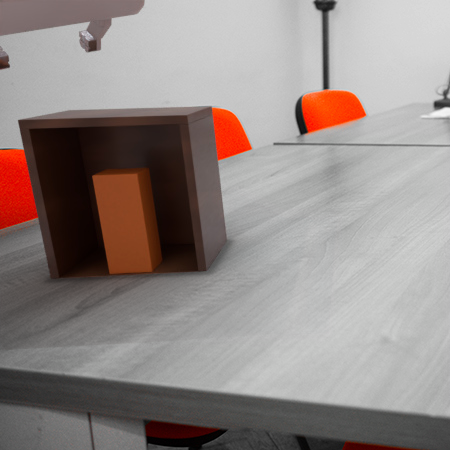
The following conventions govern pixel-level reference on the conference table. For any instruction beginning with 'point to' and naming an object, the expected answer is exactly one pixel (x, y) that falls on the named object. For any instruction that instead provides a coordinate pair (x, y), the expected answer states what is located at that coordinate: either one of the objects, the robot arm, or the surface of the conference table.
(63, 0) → the robot arm
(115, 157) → the cubby
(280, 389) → the conference table surface
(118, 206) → the block
